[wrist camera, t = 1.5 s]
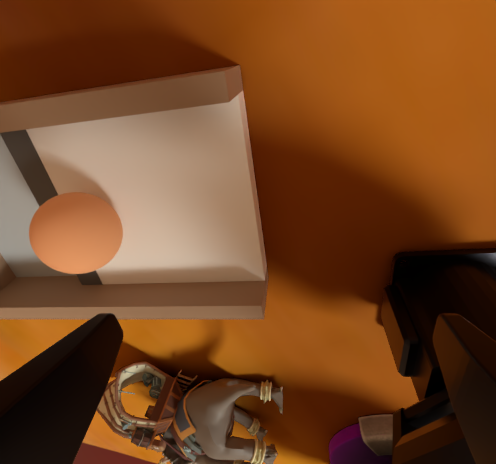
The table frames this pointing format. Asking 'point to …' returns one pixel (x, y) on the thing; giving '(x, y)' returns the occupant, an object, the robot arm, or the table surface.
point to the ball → (75, 233)
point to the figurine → (190, 417)
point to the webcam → (364, 442)
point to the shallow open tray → (138, 199)
